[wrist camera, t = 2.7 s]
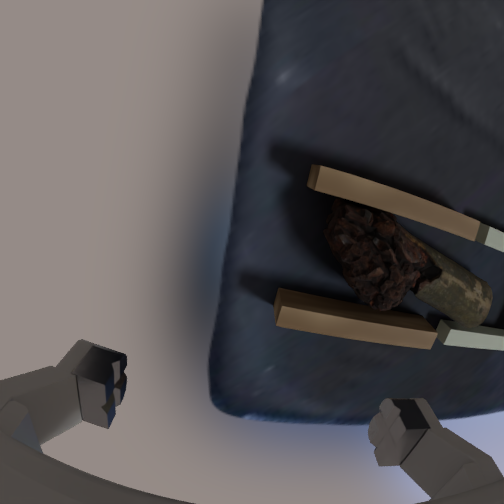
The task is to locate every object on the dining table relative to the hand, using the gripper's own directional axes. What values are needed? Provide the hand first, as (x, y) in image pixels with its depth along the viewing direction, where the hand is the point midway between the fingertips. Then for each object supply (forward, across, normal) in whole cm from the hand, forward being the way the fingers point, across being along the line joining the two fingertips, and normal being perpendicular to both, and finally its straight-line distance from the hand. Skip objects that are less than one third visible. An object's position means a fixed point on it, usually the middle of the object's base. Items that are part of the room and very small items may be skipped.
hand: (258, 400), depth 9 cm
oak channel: (+22, -12, 0) cm, 25 cm away
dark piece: (+22, -16, 0) cm, 27 cm away
